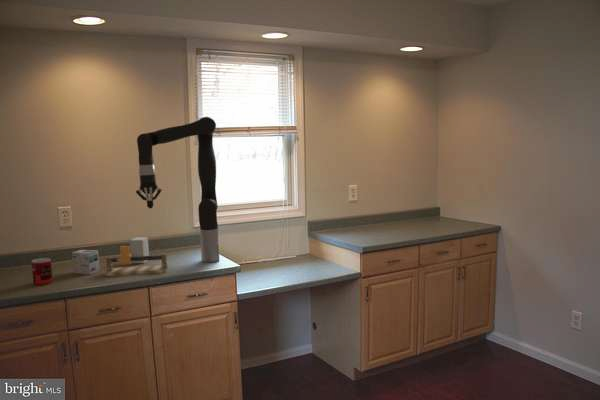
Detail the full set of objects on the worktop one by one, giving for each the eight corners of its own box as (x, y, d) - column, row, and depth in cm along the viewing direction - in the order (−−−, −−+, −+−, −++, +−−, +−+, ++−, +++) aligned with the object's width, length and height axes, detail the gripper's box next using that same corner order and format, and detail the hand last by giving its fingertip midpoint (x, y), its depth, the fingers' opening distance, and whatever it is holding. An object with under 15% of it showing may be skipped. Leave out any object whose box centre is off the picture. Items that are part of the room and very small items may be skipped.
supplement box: (149, 260, 264) (148, 237, 263) (144, 263, 257) (142, 240, 255) (136, 260, 265) (135, 237, 264) (130, 263, 258) (129, 240, 256)
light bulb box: (100, 271, 243) (98, 250, 242) (90, 275, 237) (88, 253, 236) (82, 270, 247) (81, 249, 246) (72, 273, 241) (71, 252, 239)
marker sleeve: (131, 262, 243) (130, 245, 242) (130, 264, 239) (129, 246, 238) (121, 262, 242) (120, 245, 241) (119, 264, 238) (118, 247, 237)
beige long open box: (168, 267, 249) (167, 251, 248) (165, 272, 239) (164, 255, 238) (110, 270, 245) (109, 254, 244) (105, 276, 235) (104, 259, 234)
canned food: (37, 281, 228) (35, 258, 227) (55, 280, 229) (53, 257, 228) (30, 286, 221) (28, 262, 219) (48, 285, 222) (46, 261, 220)
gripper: (161, 172, 250) (164, 206, 252) (134, 174, 248) (138, 208, 250) (160, 173, 242) (163, 208, 245) (132, 175, 240) (135, 210, 242)
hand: (150, 208), depth 247 cm, fingers closed
